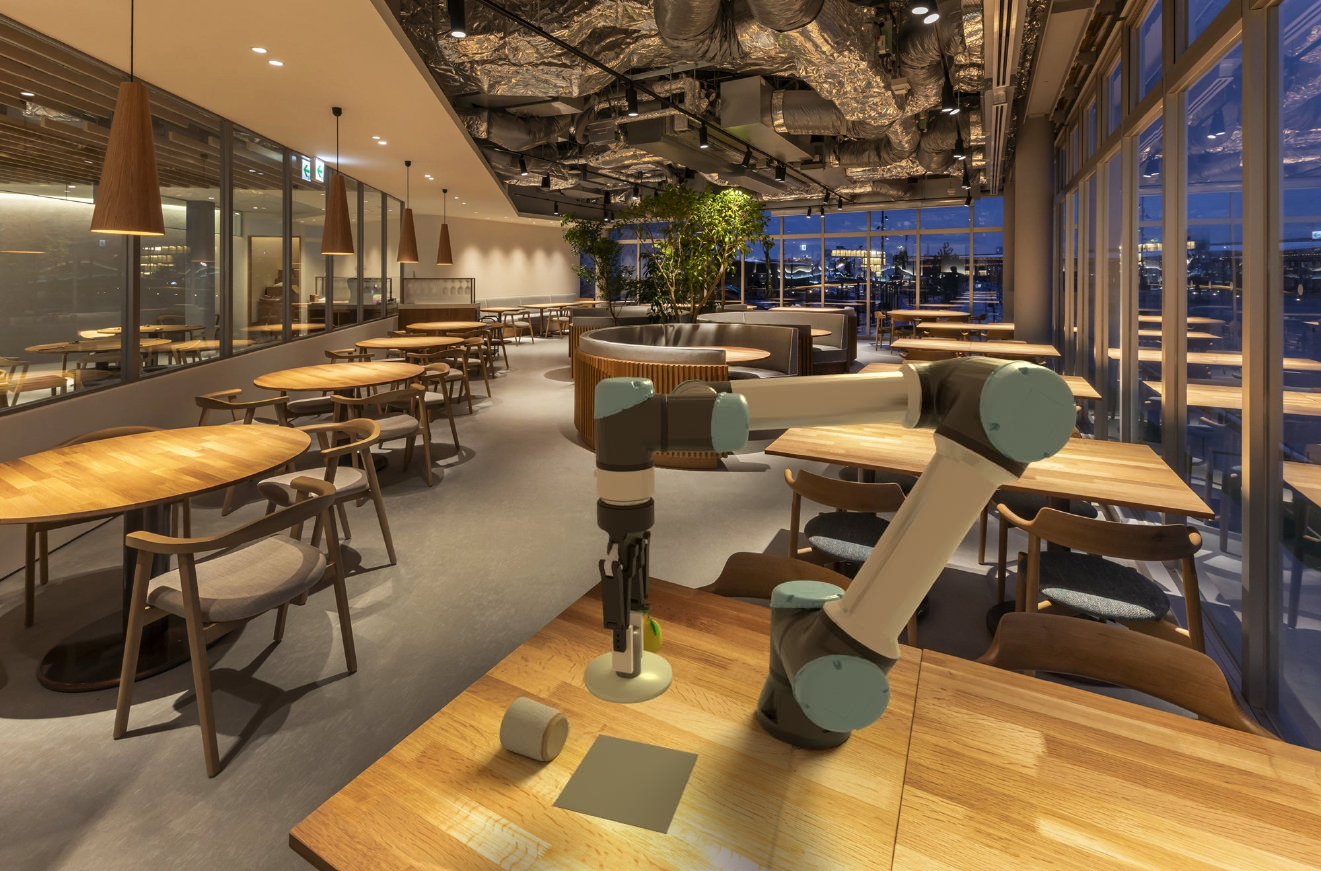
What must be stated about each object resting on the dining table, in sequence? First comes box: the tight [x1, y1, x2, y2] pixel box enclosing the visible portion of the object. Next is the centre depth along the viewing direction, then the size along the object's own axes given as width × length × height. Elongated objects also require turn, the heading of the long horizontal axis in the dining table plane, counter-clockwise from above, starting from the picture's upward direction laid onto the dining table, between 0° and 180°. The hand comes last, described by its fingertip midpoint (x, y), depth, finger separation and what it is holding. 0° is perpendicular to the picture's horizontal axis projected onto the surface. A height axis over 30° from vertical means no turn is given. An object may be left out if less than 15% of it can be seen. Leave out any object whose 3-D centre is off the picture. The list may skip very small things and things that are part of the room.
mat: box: [552, 733, 700, 834], centre depth 95 cm, size 16×16×1 cm
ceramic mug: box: [499, 696, 571, 762], centre depth 102 cm, size 11×8×8 cm
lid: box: [583, 626, 673, 705], centre depth 91 cm, size 12×12×7 cm
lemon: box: [641, 609, 664, 654], centre depth 128 cm, size 7×6×10 cm
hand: (628, 662), depth 91 cm, fingers closed on lid, 3 cm apart
